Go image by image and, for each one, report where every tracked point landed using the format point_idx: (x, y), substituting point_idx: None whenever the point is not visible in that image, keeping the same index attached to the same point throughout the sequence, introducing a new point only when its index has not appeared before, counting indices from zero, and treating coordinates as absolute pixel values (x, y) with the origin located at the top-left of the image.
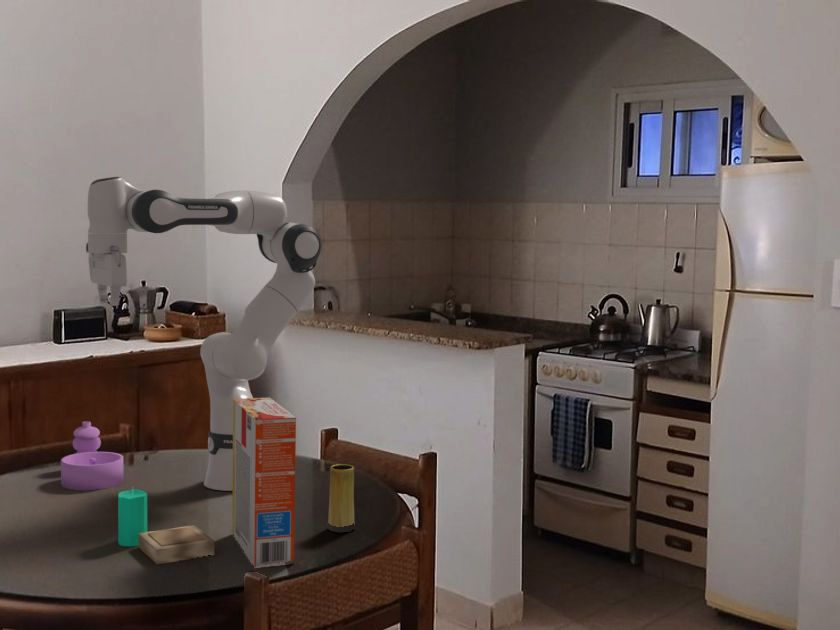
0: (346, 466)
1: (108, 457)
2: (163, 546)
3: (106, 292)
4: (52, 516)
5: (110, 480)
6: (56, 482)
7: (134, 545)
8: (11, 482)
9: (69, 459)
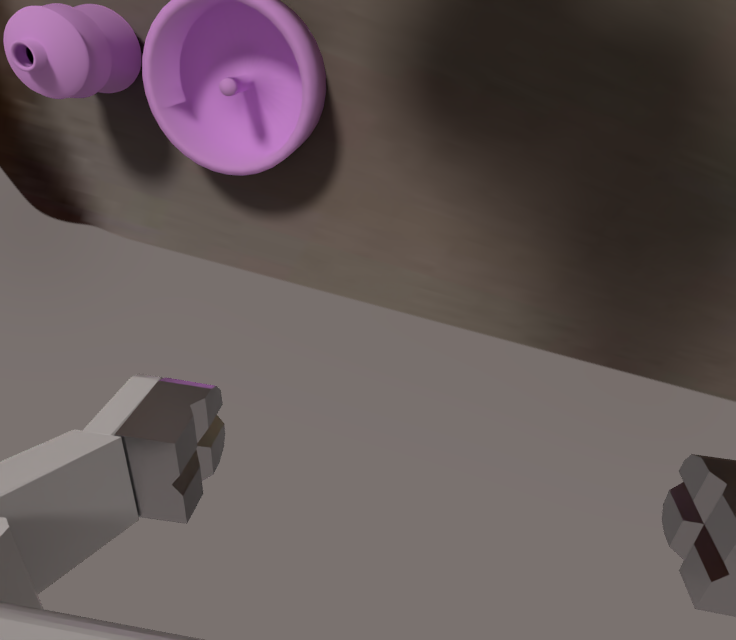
0: None
1: (179, 16)
2: None
3: (73, 473)
4: (487, 254)
5: (317, 57)
6: None
7: None
8: (180, 245)
9: (182, 135)
